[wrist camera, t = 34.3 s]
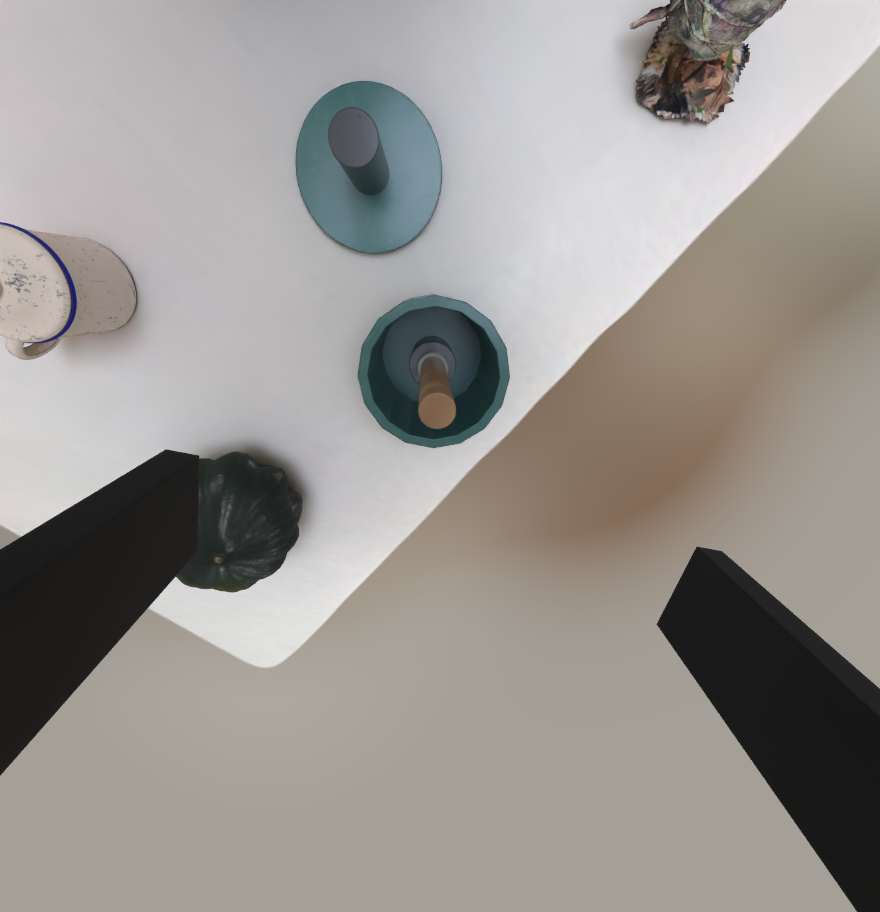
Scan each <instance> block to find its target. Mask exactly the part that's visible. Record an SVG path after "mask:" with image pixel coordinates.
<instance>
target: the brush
mask: <svg viewBox="0 0 880 912" xmlns="http://www.w3.org/2000/svg"><path fill="white" fill-rule="evenodd" d="M409 368H410V373H411V375H412V377H413V379H414V380H415V381H416V382H417V383H418V384H419V385H420V390H419V407H418V413H419V417H420V419H421V421H422V422H423V423H424V424H425V425H426V426H428V427H430V428H433V429H441V428H444V427H446V426H448V425H449V424H450V423H451V422H452V421H453V420H454V418H455V415H456V406H455V402H454V398H453V394H452V391H451V387H450V383H449V382H450V381H451V380H452V378H453V376H454V374H455V371H456V360H455V357H454V354H453V352H452V350H451V348H450V346H449V344H448V343H447V342H446V341H445V340H444V339H442V338H440V337H438V336H426V337H423V338H421V339H420V340H418V341H417V342H416V344H415V345H414V347H413V349H412V353H411V357H410V362H409Z"/></svg>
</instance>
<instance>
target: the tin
mask: <svg viewBox="0 0 880 912" xmlns="http://www.w3.org/2000/svg"><path fill="white" fill-rule="evenodd" d="M426 336H438V337H440V338H442V339H444V340H445V341H446V342H447V343H448V344H449V346H450V348H451V350H452V352H453V354H454V357H455V360H456V371H455V374H454V376H453V378H452V380H451V381H450V382H449V383H450V387H451V391H452V394H453V398H454V402H455V406H456V415H455V418H454V420H453V421H452V422H451V423H450V424H449V425H448V426H446V427H444V428H441V429H433V428H430V427H428V426H426V425H425V424H424V423H423V422H422V421H421V419H420V417H419V413H418V407H419V390H420V385H419V384H418V383H417V382H416V381H415V380H414V379H413V377H412V375H411V373H410V368H409V362H410V357H411V353H412V349H413V347H414V345H415V344H416V342H417V341H418V340H420V339H421V338H423V337H426ZM509 378H510V375H509V366H508V357H507V349H506V346H505V345H504V343H503V341H502V339H501V337H500V336H499V334H498V332H497V330H496V329H495V327H494V325H493V323H492V322H491V321H490V320H489V319H488V318H486V317H485V316H484V315H482V314H481V313H480V312H479V311H477V310H476V309H475V308H473V307H472V306H471V305H469V304H468V303H466V302H463V301H459V300H455V299H451V298H446V297H442V296H438V295H433V294H432V295H427V296H421V297H416V298H411V299H408V300H406V301H403V302H402V303H401V304H399V305H398V306H396V307H395V308H393V309H392V310H390V311H389V312H388V313H386V314H385V315H383V316H382V317H380V318H379V319H378V320H377V322H376V324H375V325H374V327H373V328H372V330H371V332H370V333H369V335H368V337H367V338H366V340H365V341H364V343H363V346H362V349H361V356H360V363H359V369H358V379H359V383H360V387H361V391H362V396H363V400H364V404H365V405H366V407H367V408H368V409H369V411H370V412H371V413H372V415H373V416H374V418H375V419H376V420H377V422H378V423H379V424H380V426H381V427H382V428H383V429H385V430H386V431H388V432H390V433H391V434H393V435H394V436H396V437H397V438H399V439H401V440H402V441H404V442H406V443H410V444H415V445H420V446H425V447H430V448H437V447H442V446H448V445H454V444H459V443H462V442H463V441H465V440H467V439H468V438H470V437H471V436H473V435H475V434H476V433H478V432H480V431H481V430H483V429H484V428H485V427H486V426H487V425H488V423H489V422H490V421H491V419H492V418H493V417H494V416H495V414H496V413H497V412H498V410H499V409H500V408H501V406H502V404H503V400H504V397H505V393H506V389H507V386H508V382H509Z"/></svg>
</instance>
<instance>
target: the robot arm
mask: <svg viewBox="0 0 880 912" xmlns="http://www.w3.org/2000/svg"><path fill="white" fill-rule="evenodd" d="M198 501H199V456H198V455H193V454H187V453H182V452H176V451H171V450H164V451H163V452H161V453H159V454H158V455H156V456H154V457H153V458H151V459H149V460H148V461H146V462H144V463H143V464H141V465H139V466H138V467H136V468H134V469H133V470H131V471H130V472H128V473H126V474H125V475H123V476H121V477H120V478H118V479H116V480H115V481H113V482H111V483H110V484H108V485H106V486H105V487H103V488H101V489H100V490H98V491H96V492H95V493H93V494H91V495H90V496H88V497H86V498H85V499H83V500H82V501H80V502H78V503H77V504H75V505H73V506H72V507H70V508H68V509H67V510H65V511H63V512H62V513H60V514H58V515H57V516H55V517H53V518H52V519H50V520H48V521H47V522H45V523H43V524H42V525H40V526H39V527H37V528H35V529H34V530H32V531H30V532H29V533H27V534H25V535H24V536H22V537H20V538H19V539H17V540H15V541H14V542H12V543H11V544H9V545H7V546H5V547H4V548H2V549H0V775H1V774H2V773H3V772H4V771H5V770H6V768H7V767H8V766H9V765H10V764H11V763H12V762H13V761H14V759H15V758H16V757H17V756H18V755H19V754H20V753H21V751H22V750H23V749H24V748H25V747H26V746H27V745H28V743H29V742H30V741H31V740H32V739H33V738H34V737H35V736H36V734H37V733H38V732H39V731H40V730H41V729H42V728H43V726H44V725H45V724H46V723H47V722H48V721H49V720H50V718H51V717H52V716H53V715H54V714H55V713H56V712H57V710H58V709H59V708H60V707H61V706H62V705H63V704H64V703H65V701H66V700H67V699H68V698H69V697H70V696H71V695H72V693H73V692H74V691H75V690H76V689H77V688H78V687H79V686H80V684H81V683H82V682H83V681H84V680H85V679H86V678H87V676H88V675H89V674H90V673H91V672H92V671H93V669H94V668H95V667H96V666H97V665H98V664H99V663H100V662H101V660H102V659H103V658H104V657H105V656H106V655H107V654H108V652H109V651H110V650H111V649H112V648H113V647H114V646H115V645H116V644H117V642H118V641H119V640H120V639H121V638H122V637H123V636H124V634H125V633H126V632H127V631H128V630H129V629H130V628H131V626H132V625H133V624H134V623H135V622H136V621H137V620H138V618H139V617H140V616H141V615H142V614H143V613H144V612H145V610H146V609H147V608H148V607H149V606H150V605H151V604H152V603H153V601H154V600H155V599H156V598H157V597H158V596H159V595H160V594H161V592H162V591H163V590H164V589H165V588H166V587H167V586H168V584H169V583H170V582H171V581H172V580H173V579H174V578H175V577H176V575H177V574H178V573H179V572H180V571H181V570H182V569H183V567H184V566H185V565H186V564H187V563H188V562H189V561H190V559H191V558H192V557H193V556H194V555H195V554H196V553H197V552H198ZM657 625H658V627H659V628H660V630H661V631H662V633H663V634H664V635H665V637H666V638H667V640H668V641H669V643H670V644H671V645H672V647H673V648H674V650H675V651H676V652H677V654H678V656H679V657H680V658H681V660H682V661H683V663H684V664H685V666H686V667H687V668H688V670H689V671H690V673H691V674H692V675H693V677H694V678H695V680H696V681H697V683H698V684H699V685H700V687H701V688H702V690H703V691H704V693H705V694H706V696H707V697H708V699H709V700H710V701H711V703H712V704H713V706H714V707H715V708H716V710H717V711H718V713H719V714H720V716H721V717H722V719H723V720H724V721H725V723H726V724H727V726H728V727H729V729H730V730H731V732H732V733H733V734H734V736H735V737H736V739H737V740H738V742H739V743H740V744H741V746H742V747H743V749H744V750H745V752H746V753H747V754H748V756H749V757H750V759H751V760H752V761H753V763H754V764H755V766H756V767H757V769H758V770H759V772H760V773H761V775H762V776H763V777H764V778H765V780H766V782H767V783H768V785H769V786H770V787H771V789H772V790H773V792H774V793H775V795H776V796H777V797H778V799H779V800H780V802H781V803H782V805H783V806H784V807H785V809H786V810H787V812H788V813H789V815H790V816H791V818H792V819H793V820H794V822H795V823H796V825H797V826H798V828H799V829H800V830H801V832H802V833H803V835H804V836H805V837H806V839H807V840H808V842H809V843H810V845H811V846H812V848H813V849H814V850H815V852H816V853H817V855H818V856H819V858H820V859H821V861H822V862H823V863H824V865H825V866H826V868H827V869H828V870H829V872H830V873H831V875H832V876H833V878H834V879H835V880H836V882H837V883H838V885H839V886H840V888H841V889H842V891H843V892H844V893H845V895H846V896H847V898H848V899H849V901H850V902H851V904H852V905H853V906H854V908H855V909H856V911H857V912H880V689H879V688H878V687H877V686H876V685H875V684H874V683H872V682H871V681H870V680H869V679H868V678H867V677H865V676H864V675H863V674H862V673H861V672H860V671H859V670H857V669H856V668H855V667H854V666H853V665H852V664H851V663H849V662H848V661H847V660H846V659H845V658H844V657H842V656H841V655H840V654H839V653H838V652H837V651H836V650H835V649H833V648H832V647H831V646H830V645H829V644H828V643H826V642H825V641H824V640H823V639H822V638H821V637H820V636H818V635H817V634H816V633H815V632H814V631H813V630H812V629H810V628H809V627H808V626H807V625H806V624H805V623H804V622H802V621H801V620H800V619H799V618H798V617H797V616H796V615H794V614H793V613H792V612H791V611H790V610H789V609H788V608H786V607H785V606H784V605H783V604H782V603H780V601H778V600H777V599H776V598H775V597H774V596H773V595H771V594H770V593H769V592H768V591H767V590H766V589H765V588H763V587H762V586H761V585H760V584H759V583H758V582H757V581H755V580H754V579H753V578H752V577H751V576H750V575H749V574H747V573H746V572H745V571H744V570H743V569H742V568H741V567H739V566H738V565H737V564H736V563H735V562H734V561H732V560H731V559H730V558H729V557H728V556H727V555H726V554H724V553H723V552H722V551H717V550H712V549H707V548H701V547H696V549H695V551H694V553H693V555H692V557H691V559H690V561H689V563H688V565H687V567H686V568H685V570H684V572H683V574H682V576H681V578H680V580H679V582H678V584H677V586H676V588H675V590H674V592H673V594H672V596H671V598H670V599H669V602H668V603H667V605H666V607H665V609H664V611H663V613H662V615H661V617H660V619H659V621H658V623H657Z"/></svg>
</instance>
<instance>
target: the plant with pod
mask: <svg viewBox="0 0 880 912" xmlns="http://www.w3.org/2000/svg"><path fill="white" fill-rule="evenodd" d="M785 2H786V0H670V4H668V5H666V6H665V7H661V6H660V7H658V8H655V9H652V10H650V12H649V13H648V14H647V15H645V16H644V17H642V18H641V19H639V20H637V21H635V22H634V23H631V24H630V29H635V28H637V27H639V26H642V25H643V24H645V23H647V22H650V21H654V20H658V19H662V18H664V17H666V21H664V22H662V24H661V27H659V26H657V27H658V30H659V31H657V32H656V33H655V34H658V35H657V36H655V37H654V38H653V41H654V42H653V44H652V45H651V47H650V49H649V51H648V52H647V56H648V58H649V59H648V60H646V61H643V63H644V66H643V67H642V69H643V70H644V71H641V73H642V74H643V75H639V79H638V80H637V82H638V83H639V84H638V85H637V86H636V88H637V90H638V92H637V96H638V99H639V100H640V101H641V104H642V103H643V106H644V105H645V104H646V108H647V106H648V105H649V108H651V110H653V109H654V112H657V115H661V114H662V115H663V116H664V118H665V120H666V119H667V118H668V119H670V117H671V118H672V119H673V118H674V117H676V118H679V119H681V118H682V117H683V116H684V115H685V116H686V118H687V119H688V120H689V121H690V122H691V121H692V120H694V119H695V118H697V117H698V118H699V119H700V120H702V118H703V122H704V121H706V122H707V123H708V124H709V123H710V122H711V121H712V120H713V119H715V118H717V117H719V116H718V115H717V114H716V113H719V112H724V105H725V104H727V103H730V102H733V101H734V100H733V99H731V98H730V97H729V96H728V95H730V94H733V92H732V90H731V88H733V89H734V86H735V81H737V82H738V83H739V76H740V75H741V72H740V70H744V69H743V68H742V67H744V68H745V65H744V63H746V62H748V61H749V55H750V52H748V50H749V49H750V48H747V47H748V45H749V44H747V45H746V46H745V44H744V43H742V42H743V41H744V40H745V39H746V38H747V37H748V36H749V34H751V33H752V32H753V31H754V30H755V29H756V28H758V27H760V26H761V25H762V24H763V23H764V22H765V21H766V20H767V19H768V18H770V17H772V16H773V15H774V14H775V13H776V12H778V11H779V10H781V9H782V7H783V5H784V4H785ZM667 16H669V19H668V18H667Z"/></svg>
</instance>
